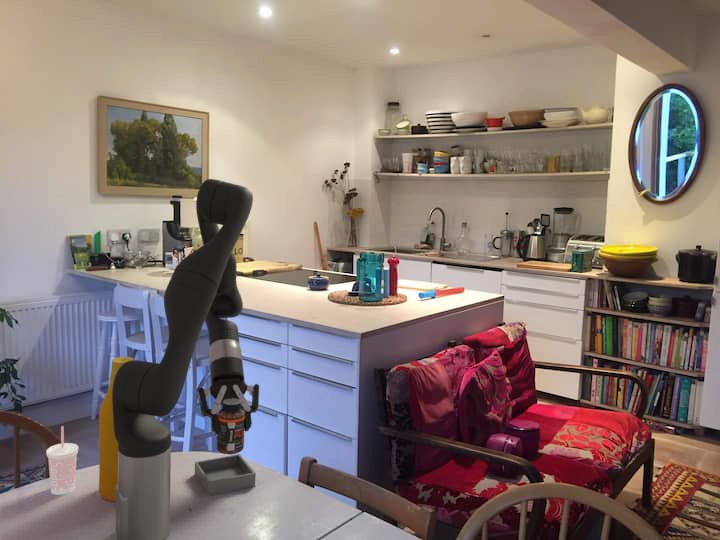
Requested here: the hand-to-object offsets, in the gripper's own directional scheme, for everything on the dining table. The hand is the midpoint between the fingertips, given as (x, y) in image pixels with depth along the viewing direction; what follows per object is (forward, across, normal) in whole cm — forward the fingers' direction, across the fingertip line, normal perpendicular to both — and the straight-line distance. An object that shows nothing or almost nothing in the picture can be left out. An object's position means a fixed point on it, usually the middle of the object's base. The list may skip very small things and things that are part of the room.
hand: (232, 431), depth 131 cm
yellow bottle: (+7, -22, +11) cm, 26 cm away
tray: (+7, -1, +10) cm, 13 cm away
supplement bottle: (+3, 0, +5) cm, 6 cm away
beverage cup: (+4, -34, +14) cm, 37 cm away
